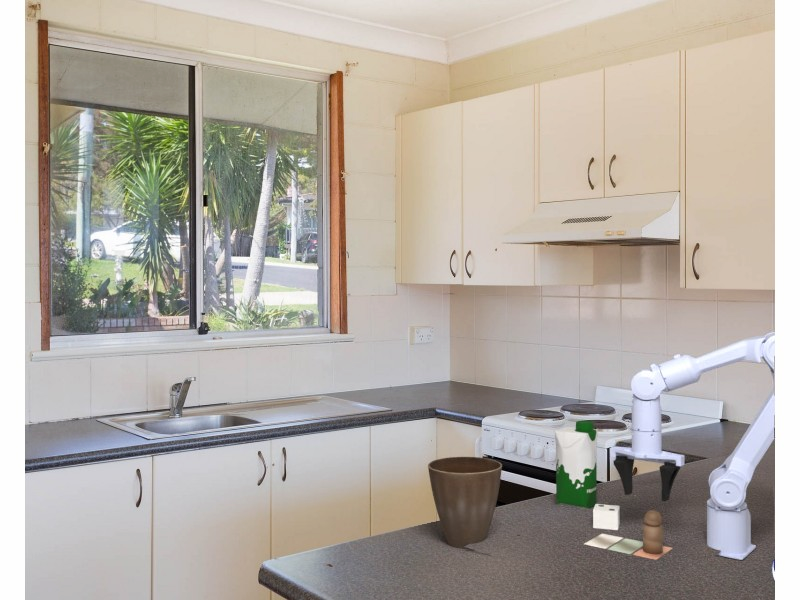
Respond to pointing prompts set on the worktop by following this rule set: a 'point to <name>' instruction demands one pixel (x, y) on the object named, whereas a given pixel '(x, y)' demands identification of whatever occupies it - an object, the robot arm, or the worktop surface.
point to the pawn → (653, 533)
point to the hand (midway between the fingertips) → (646, 497)
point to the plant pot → (465, 496)
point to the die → (606, 516)
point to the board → (623, 545)
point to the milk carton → (576, 465)
